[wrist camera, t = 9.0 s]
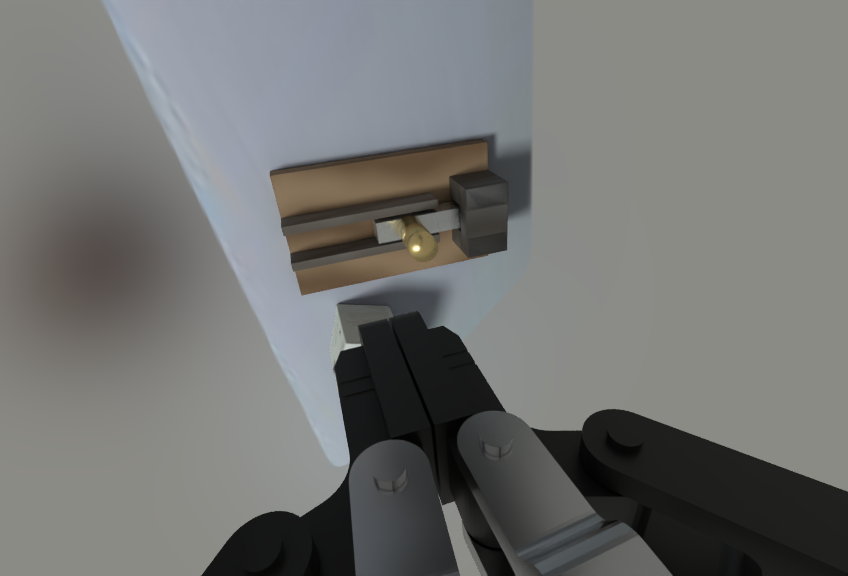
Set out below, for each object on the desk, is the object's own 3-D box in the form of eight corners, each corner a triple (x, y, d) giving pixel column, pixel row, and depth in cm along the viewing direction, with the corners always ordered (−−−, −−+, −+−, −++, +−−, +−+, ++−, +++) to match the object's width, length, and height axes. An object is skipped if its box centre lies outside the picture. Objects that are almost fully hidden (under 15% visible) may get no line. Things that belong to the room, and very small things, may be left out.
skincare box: (335, 302, 46) (344, 342, 40) (390, 304, 48) (406, 343, 42) (328, 349, 49) (336, 393, 43) (381, 349, 51) (395, 391, 45)
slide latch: (371, 214, 41) (387, 243, 35) (480, 194, 43) (513, 218, 37) (375, 237, 42) (391, 269, 36) (481, 217, 44) (512, 243, 38)
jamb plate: (270, 171, 38) (269, 191, 33) (481, 138, 42) (508, 152, 37) (300, 288, 44) (304, 319, 39) (482, 249, 48) (506, 273, 43)
